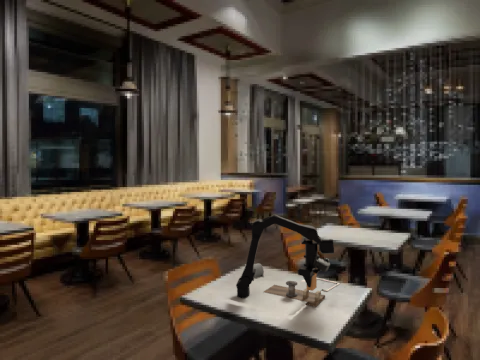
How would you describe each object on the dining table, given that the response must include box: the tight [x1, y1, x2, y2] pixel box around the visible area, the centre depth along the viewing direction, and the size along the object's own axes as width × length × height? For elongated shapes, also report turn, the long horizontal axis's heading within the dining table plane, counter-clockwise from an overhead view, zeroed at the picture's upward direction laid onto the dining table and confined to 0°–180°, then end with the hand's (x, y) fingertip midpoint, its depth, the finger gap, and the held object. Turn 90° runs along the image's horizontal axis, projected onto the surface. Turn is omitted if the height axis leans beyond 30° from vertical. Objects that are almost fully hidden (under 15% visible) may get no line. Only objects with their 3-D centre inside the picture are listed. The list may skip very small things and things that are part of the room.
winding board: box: [263, 280, 326, 308], centre depth 171 cm, size 12×28×8 cm, turn 56°
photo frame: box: [300, 277, 341, 293], centre depth 188 cm, size 15×1×18 cm
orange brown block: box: [306, 273, 318, 292], centre depth 165 cm, size 3×5×7 cm, turn 146°
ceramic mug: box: [254, 263, 265, 279], centre depth 199 cm, size 11×8×8 cm
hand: (311, 285), depth 165 cm, fingers closed on orange brown block, 5 cm apart
